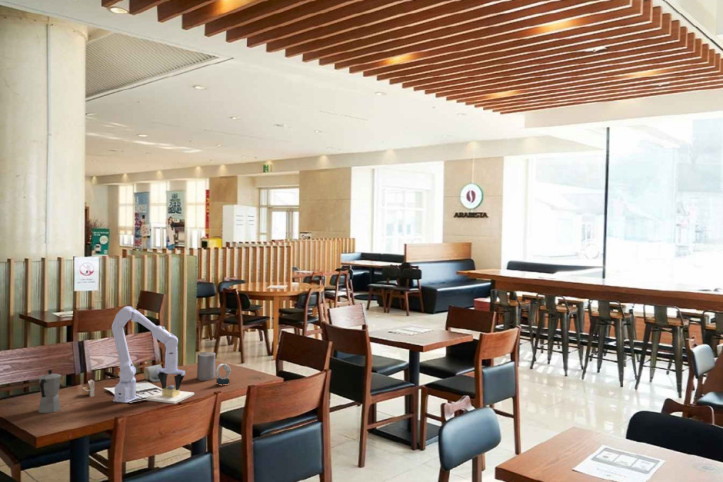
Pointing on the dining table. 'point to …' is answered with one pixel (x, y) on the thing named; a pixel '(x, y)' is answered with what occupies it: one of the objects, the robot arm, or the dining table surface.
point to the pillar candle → (206, 365)
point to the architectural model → (90, 388)
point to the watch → (223, 379)
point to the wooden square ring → (170, 392)
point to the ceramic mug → (152, 373)
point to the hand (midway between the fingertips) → (170, 388)
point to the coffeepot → (49, 392)
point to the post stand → (174, 400)
